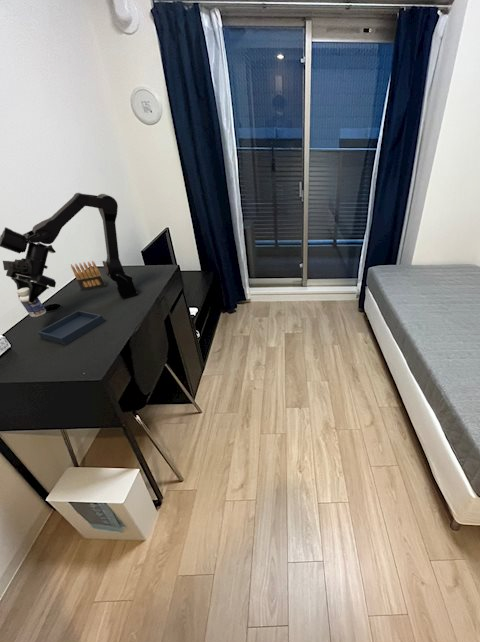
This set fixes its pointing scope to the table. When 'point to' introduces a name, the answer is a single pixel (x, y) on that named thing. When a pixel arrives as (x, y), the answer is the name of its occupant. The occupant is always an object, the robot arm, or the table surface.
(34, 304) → the pill bottle
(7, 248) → the robot arm
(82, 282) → the ammunition clip
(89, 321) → the tray
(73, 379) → the table surface
